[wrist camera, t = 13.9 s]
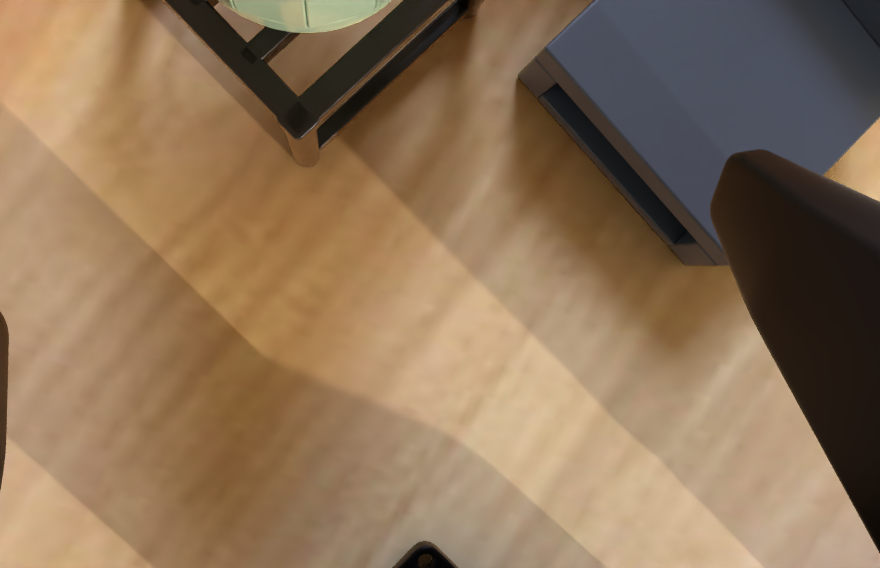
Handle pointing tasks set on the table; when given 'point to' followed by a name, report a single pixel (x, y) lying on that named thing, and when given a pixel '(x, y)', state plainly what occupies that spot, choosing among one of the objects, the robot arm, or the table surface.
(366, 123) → the table surface
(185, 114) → the table surface
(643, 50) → the shelf
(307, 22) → the tumbler
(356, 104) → the rack
